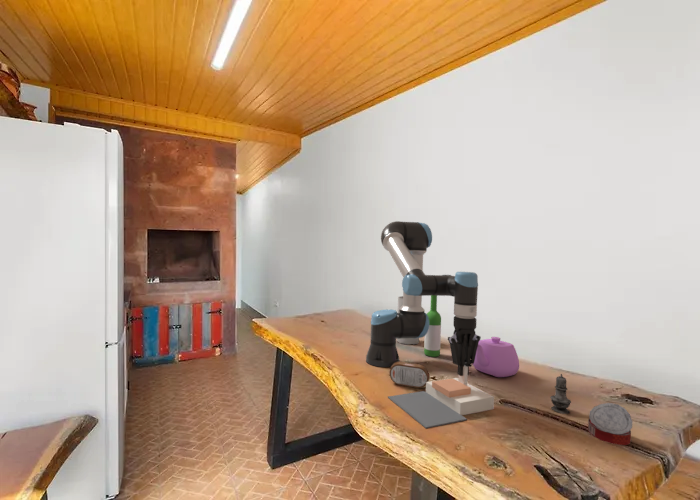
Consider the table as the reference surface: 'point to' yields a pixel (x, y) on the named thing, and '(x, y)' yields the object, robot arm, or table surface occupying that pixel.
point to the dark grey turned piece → (560, 396)
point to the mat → (426, 409)
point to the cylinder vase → (406, 340)
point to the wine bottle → (433, 331)
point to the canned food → (610, 424)
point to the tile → (451, 387)
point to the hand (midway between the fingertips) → (462, 384)
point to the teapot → (496, 357)
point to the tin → (409, 374)
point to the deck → (464, 400)
